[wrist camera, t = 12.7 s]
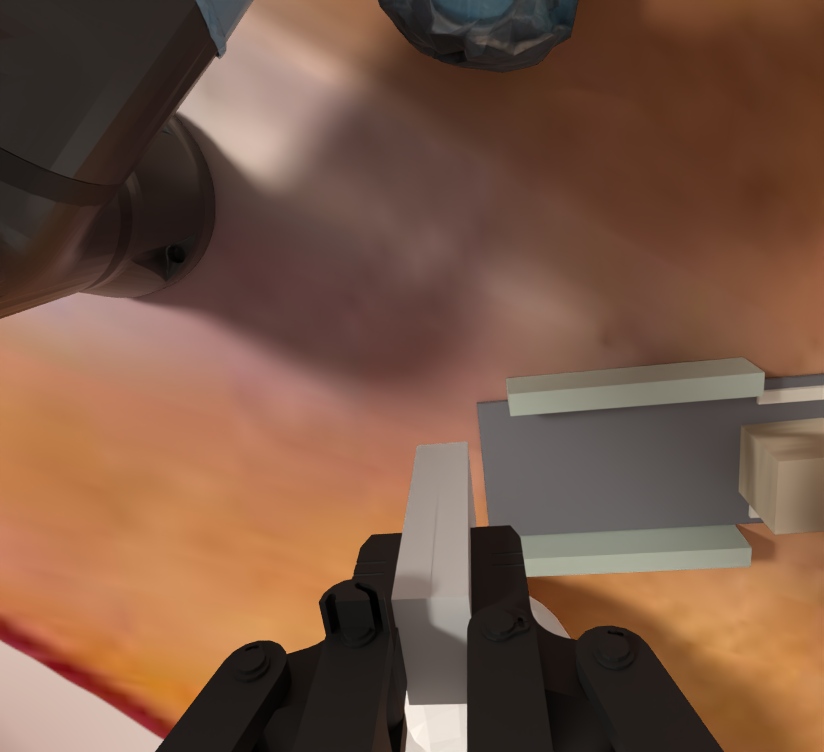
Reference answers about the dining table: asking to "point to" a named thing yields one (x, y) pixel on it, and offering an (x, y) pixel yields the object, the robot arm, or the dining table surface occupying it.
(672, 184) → the dining table surface
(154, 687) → the dining table surface
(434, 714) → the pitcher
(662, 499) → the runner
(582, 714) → the robot arm
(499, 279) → the dining table surface
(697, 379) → the channel
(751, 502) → the block
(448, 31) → the power drill
